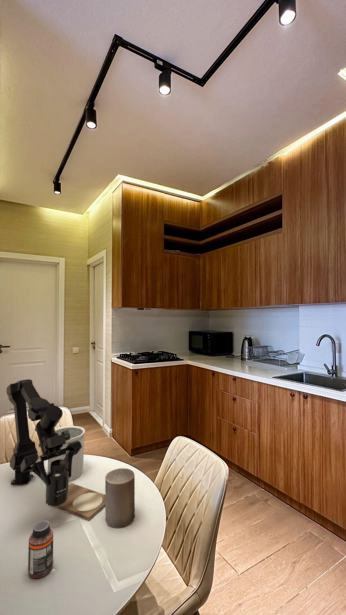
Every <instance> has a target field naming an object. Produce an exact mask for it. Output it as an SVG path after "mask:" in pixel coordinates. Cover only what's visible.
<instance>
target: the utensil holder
mask: <svg viewBox="0 0 346 615" xmlns="http://www.w3.org/2000/svg"><path fill="white" fill-rule="evenodd" d="M66 430H68V431H69V433H70V440H67V441H66V444H63V447H61V448H60V449H64V448H66V447H67V445H68V444H69V443H71V442H75V441H79V442H81V445H82V448H81V449H80V451H79V452H78V453H77V454H76V455H74V456H73V458H72V471H71V477H70V478H69V483H71V482H73V481H75V480H77V479H78V478H80V477H81V476H82V475H83V470H84V457H85V456H84V454H85V453H84V452H85V436H86V430H85V428H83V427H82V426H77V425H67V426H66V425H65V426H61V427H56V428H55V432H56V433H58V435H61V433H62V432H63V431H66ZM64 458H65V457H64V455H61V456H58V457H55V458H52V459H49V460H47V473H48V472H49V471H50V466H51V462H53V461H55V460H58V459H64Z"/></svg>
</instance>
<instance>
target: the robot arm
mask: <svg viewBox="0 0 346 615" xmlns="http://www.w3.org/2000/svg"><path fill="white" fill-rule="evenodd" d="M33 383H34V382H33V380H32V379H30V378H29V379H21V380H18V381H16V382H15V383H14V382H13V383H10V384H9V385H8V386H7V387H6V395H7V397H8V400H9V402H10V403H11V404H12V406H13V411H14V412H13V413H14V422H15V433H16V434H15V435H16V443H15V445H14V447H13V450H12V452H13V453H12V456H11V457H10V459H9V467H10V469H12V471H14V478H13V480H12V481H11V482H10V485H11V486H12V485H15V486H18V485H19V486H20V485H27V484H29V483H30V482H31V481H32V479H33V478H34V476H35V475H36V476H37V477H38V478H39V479H40V480H41V482H43V483H44V484H45V485H47V486H49V480H48V476H47V474H48V472H47V471H46V467H45V461H48V460H49V459H52V458H55V457H58V456H61V455H64V457H65V458H64V459H63V460H65V461H66V468H67V469H68V471H69V478H70V477H71V471H72V458H73V456H74V455H76V454H77V453H78V452H79V451H80V449H81V448H82V445H81V442H79V441H75V442H71V443H69V444H68V445H67V447H66V448H64V449H60V448H61V447H63V444H66V441H67V440H70V433H69V431H68V430H66V431H63V432H62V433H61V435H58V433H56V432H55V429H56V428H57V425H58V424H59V422H60V420H61V419H62V417H63V413H64V412H63V410H62V408H61V407H60V406H58V405H55V403H54V402H52V403H50V402H49V401H48V399H46V398H43V397H41V396H40V394H39V392H38V391H37V389H36V387H35V386H34V384H33ZM27 406H28V407H27ZM29 419H30V421H31V422H36V421H38V422H37V423H36V424H35V428H34V431H35V432H36V436H37V439H38V442H39V443H38V448H40V450H41V455H39V454H38V453H39V452H38V450H37V447H36V442H35V441H34V440H32V439H31V436H30V429H29V427H30V426H29ZM55 427H56V428H55ZM32 473H33V474H32Z"/></svg>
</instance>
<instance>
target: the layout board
mask: <svg viewBox="0 0 346 615" xmlns="http://www.w3.org/2000/svg"><path fill="white" fill-rule="evenodd" d="M45 504H46V505H47V503H46V502H45ZM52 507H54V508H55V509H58V510H61V511H63V512H64V513H65V512H66V513H67V514H70V515H73V516H75V517H78V518H79V519H83V520H85V521H88V522H90V521H91V520H92V519H93V518H94V517H95V516H97V514H99V513H100V512H101V511H102V510H103V509H104V508H105V494H104V493H101V492H99V491H95V490H93V489H90V488H87V487H84V486H81V485H78V484H75V483H72V482H70V483H69V489H68V499H67V501H66V502H65V503H63V504H61V505H58V506H52Z"/></svg>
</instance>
